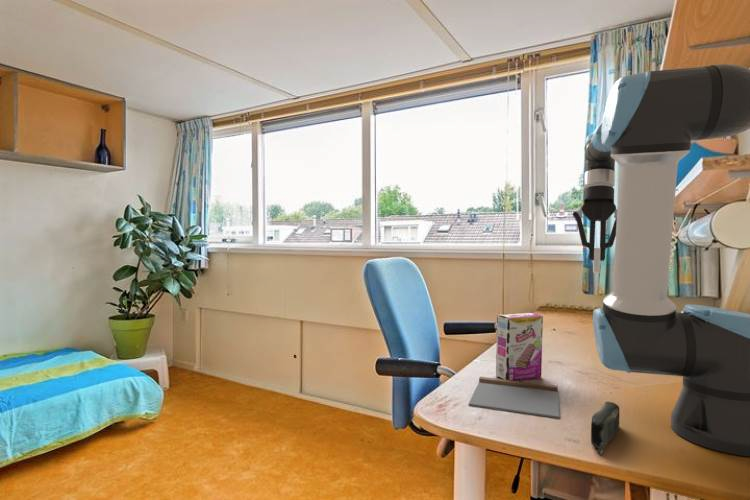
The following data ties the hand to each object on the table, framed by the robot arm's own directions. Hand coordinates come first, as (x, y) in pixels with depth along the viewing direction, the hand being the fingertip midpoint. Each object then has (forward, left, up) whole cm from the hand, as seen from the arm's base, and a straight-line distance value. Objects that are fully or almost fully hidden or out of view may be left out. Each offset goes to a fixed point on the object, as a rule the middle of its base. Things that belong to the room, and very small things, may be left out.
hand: (596, 272), depth 114 cm
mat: (-29, +19, -27) cm, 44 cm away
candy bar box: (-13, +19, -27) cm, 35 cm away
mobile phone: (-42, +3, -27) cm, 51 cm away
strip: (-20, +19, -27) cm, 39 cm away
